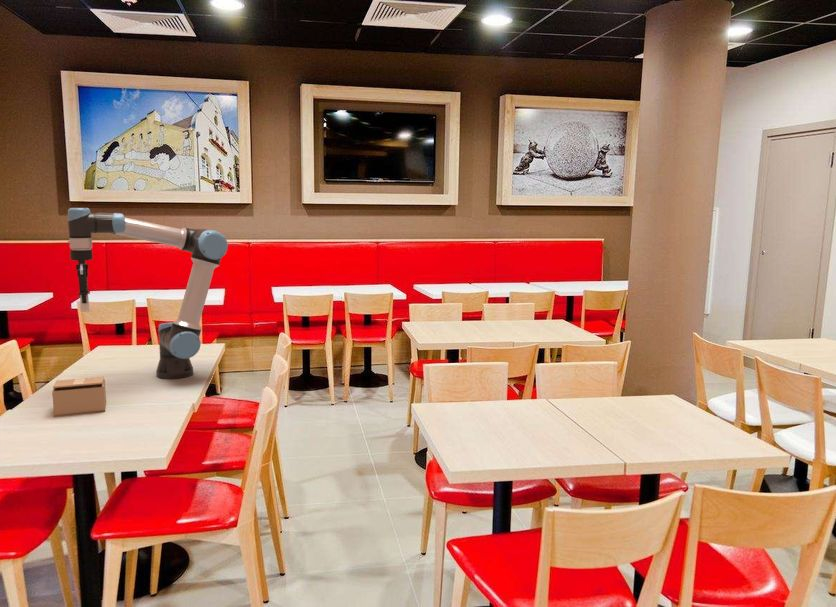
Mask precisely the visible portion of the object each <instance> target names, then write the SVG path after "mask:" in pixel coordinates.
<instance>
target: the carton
mask: <svg viewBox="0 0 836 607" xmlns="http://www.w3.org/2000/svg"><path fill="white" fill-rule="evenodd" d="M106 392H107V391H106V378H104V379H103V383H102V384H94V385H83V386H71V387H59V388H53V387H52V391H51V393H52V395H51V396H52V407H53V417H54V418H55V417H64V416H75V415H81V414H82V415H83V414H84V415H85V414H93V413H94V414H95V413H102V412H103V413H104V412H106V409H107V406H106V405H107V393H106Z"/></svg>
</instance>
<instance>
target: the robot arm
mask: <svg viewBox="0 0 836 607" xmlns="http://www.w3.org/2000/svg"><path fill="white" fill-rule="evenodd" d="M67 228H68V239H69V240H67V243H68V244H69V249H70V250H69V253H70V254H69V256H70V260H71V261H77V264H76V266H75V269H76V272H77V273H76V274H77V275H76V276H77V277H78V288H79V292H78V293H77V296H79V301H80V311H81V313H89V312H90V303H89V302H90V301H89V295H90V294H91V292H90V291H89V284H88V276H89V264H87V261H91V260H92V261H93V259H94V255H93V250H92V249H93V238H92V234H112V235H118V236H122V237H126V238H127V237H128V238H132V239H138V240H141V241H142V240H143V241H147V242H152V243H155V244H156V243H158V244H161V245H162V244H163V245H168V246H172V247H176V248H178V249H179V250H180V251H184V252H188V253H191V255H190V256H191V257H190V259H191V261H192V263H193V264H192V266H191V269H190V270H191V271H190V274H189V278H188V281H187V285H186V288H185V292H184V295H183V299H182V303H181V305H180V310H179V314H178V315H177V316H178V317H177V319H176V320H174V321H171V322H165V323H164V322H163V323H159V325H158V330H157V332H158V345H159V346H158V347H159V361H158V364H157V367H156V372H155V373H156V374H155V375H156V378H159V379H164V380H165V379H166V380H167V379H168V380H172V379H173V380H175V379H183V378H188V377H190V376H192V375H194V372H195V371H194V366H193V364H192V362H191V359H190V358H193V357H194V356H196V355H197V354H198V353H199V351H200V348H201V338H200V336H201V333H202V327H201V325H200V321H201V318H202V316H203V315H202V314H203V310H204V307H205V304H206V300H207V297H208V292H209V289H210V286H211V282H212V278H213V274H214V270H215V269H216V268H218V267H220V263H221V261H222V260H221V259H222V258H223V257H224V256H225V255H226V254H227V251H228V247H229V246H228V240H227V239H226V236H224V235H223V234H222V232H219V231H217V230H214V229H203V228H202V229H201V228H199V229H198V228H189V227H182V228H177V227H173V226H168V225H162V224H158V223H154V222H149V221H144V220H141V219H134V218H130V217H125V215H124V214H123V213H119V212H109V213H108V212H102V211H101V212H100V211H99V212H96V213H95V212H91V210H90V208H88V207H70V208H69V209H68V210H67Z"/></svg>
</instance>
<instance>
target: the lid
mask: <svg viewBox="0 0 836 607" xmlns="http://www.w3.org/2000/svg"><path fill="white" fill-rule="evenodd" d="M103 379H105V377H104V376H95V377H94V376H93V377H81V378H80V377H79V378H72V379H61V380H60V379H58V380H56V381H55V382H54V384H53V385H52V389H53V388H59V387H71V386H83V385H94V384H102V383H103Z"/></svg>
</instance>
